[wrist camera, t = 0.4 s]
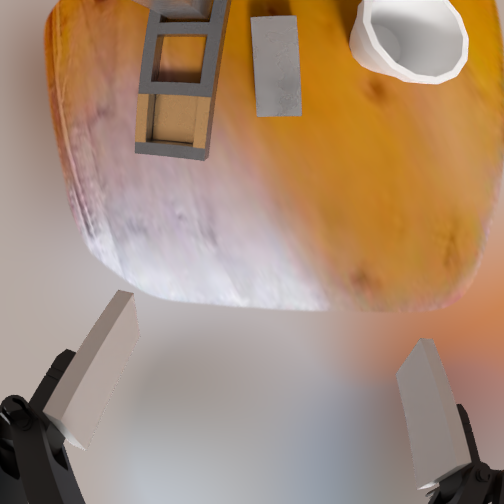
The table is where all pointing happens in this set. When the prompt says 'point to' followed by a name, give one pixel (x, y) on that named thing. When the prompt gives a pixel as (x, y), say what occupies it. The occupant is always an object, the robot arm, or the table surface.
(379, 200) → the table surface
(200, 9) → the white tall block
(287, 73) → the block
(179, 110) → the grey flat frame
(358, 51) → the foam cup
